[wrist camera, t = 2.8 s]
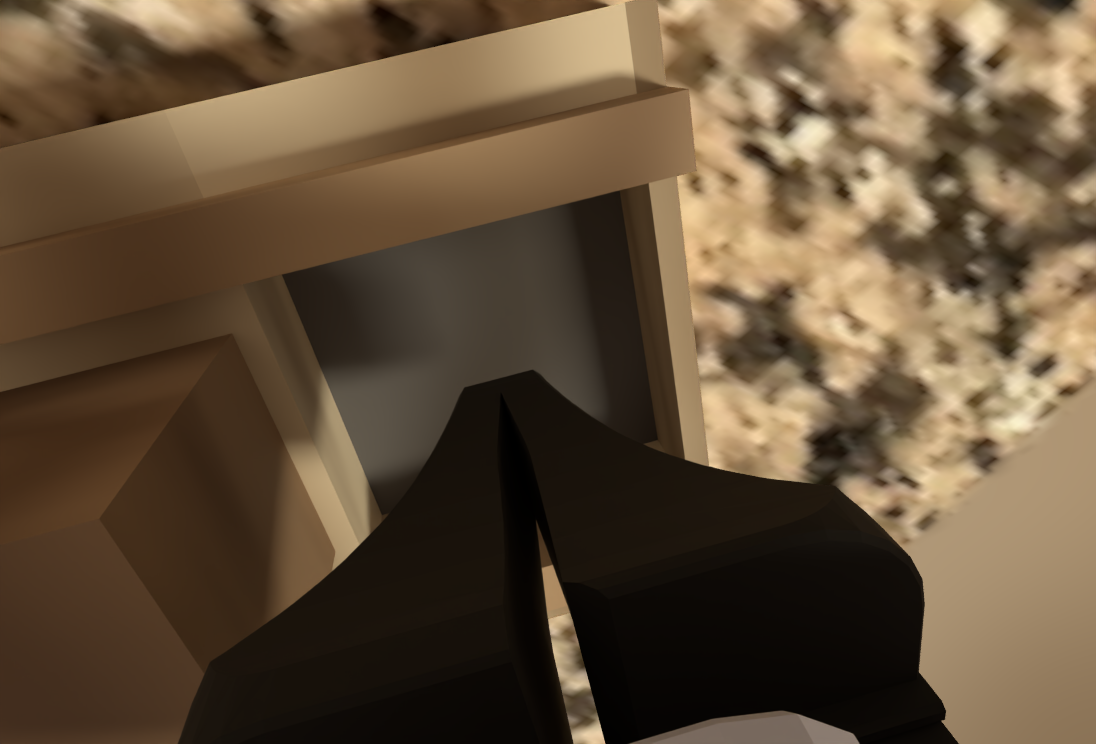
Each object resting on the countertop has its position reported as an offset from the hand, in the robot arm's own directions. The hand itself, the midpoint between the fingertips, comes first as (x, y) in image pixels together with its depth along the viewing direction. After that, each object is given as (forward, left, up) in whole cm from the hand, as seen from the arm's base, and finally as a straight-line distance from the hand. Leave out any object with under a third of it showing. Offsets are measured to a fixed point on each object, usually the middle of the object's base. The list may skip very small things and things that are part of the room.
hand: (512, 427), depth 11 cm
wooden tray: (-5, 0, -4) cm, 6 cm away
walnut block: (-7, 0, -1) cm, 7 cm away
